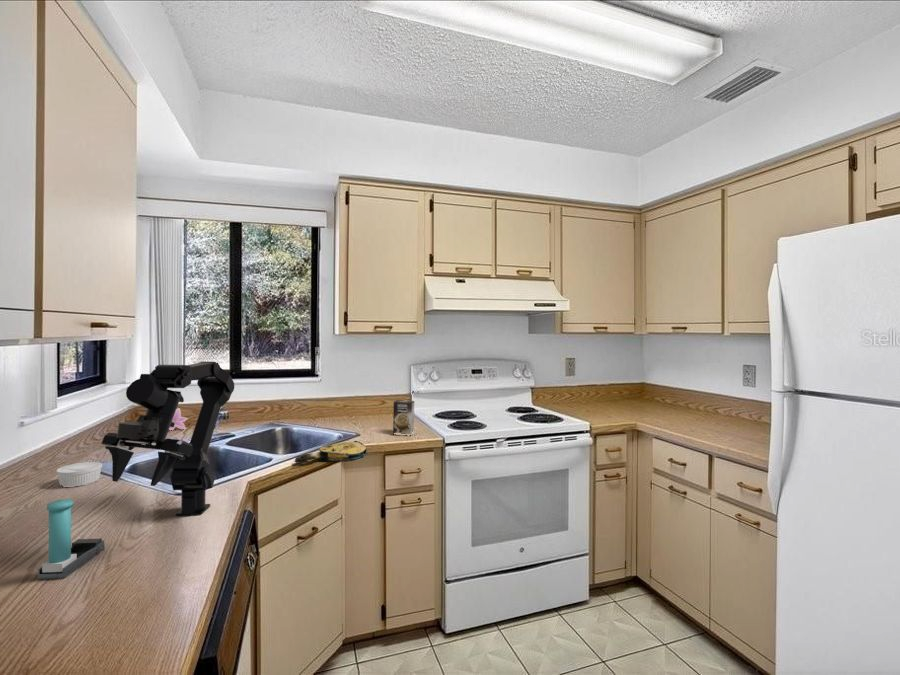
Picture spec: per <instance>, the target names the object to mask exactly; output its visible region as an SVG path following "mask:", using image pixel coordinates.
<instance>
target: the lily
mask: <svg viewBox="0 0 900 675" xmlns="http://www.w3.org/2000/svg"><path fill="white" fill-rule="evenodd" d="M181 411H182V410H181V408H179V407H177V409H176V411H175V414H174V417H173V420H172V422H173V423H175V425H174V427H170V428H169V430H172V431H174V430H175V429H176V428H178V429H180V430H183V429H186V430H187V428H186V425H185V423H184V422H186V421H187V420H188V419H189V418H188V417H184V416H182V412H181ZM169 430H168V431H169Z"/></svg>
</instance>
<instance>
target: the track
mask: <svg viewBox="0 0 900 675" xmlns="http://www.w3.org/2000/svg"><path fill="white" fill-rule="evenodd" d="M104 550H105V540H103V538H78V539H77V540H74V541H73V542H71V554H77V559H76V560H74V561H73V562H71V563H70V564H68V565H67V566H66V567H64V568H63V572H43V573H42V566H40V567H39V568H37V580H57V579H58V580H59V579H61V580H62V579H66V578H67V577H69V576H70V575H72V574H73V573H74V572H75V571H77V570H78V569H80V568H82V566H84V565H85V564H86V563H88V562H89V561H90V560H92V559H94V557H96V556H97V555H99V554H100V553H101V552H103V551H104Z"/></svg>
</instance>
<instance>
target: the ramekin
mask: <svg viewBox="0 0 900 675" xmlns="http://www.w3.org/2000/svg"><path fill="white" fill-rule="evenodd" d="M102 468H103V463H102V462H99V461H98V462H97V461H86V462H77V463H72V464H71V463H70V464H67V465H63V466H61V467H59V468H57V469H56V472H55V473H56V475H57V478H58V479H57V480H58V483H59V485H60V486H61V485H62V486H77V485H83V484H87V483H91V482H94V481H97V482H98V481H99V479H100V476H101V471H102ZM62 486H61V487H62Z"/></svg>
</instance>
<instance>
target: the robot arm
mask: <svg viewBox="0 0 900 675" xmlns="http://www.w3.org/2000/svg"><path fill="white" fill-rule="evenodd" d="M194 380H197V382H196V384H197V386H198V388H199V389H200V390H199V393H200V394H199V395H200V397H201V400H202V405H201V408H200V411H199V412H198V413H199V414H198V417H197V420H196V423H195V426H194V428H193V431H192V435H191V438H190V440H189V441H188V442H187V441H184V440H182V439H175V438H167V435H168V432H169V428H170V427H174V425H175V423H173V422H172V420H173V417H174V414H175V411H176V409H178V405H179V403H184V401H185V400H184V397H183V395H182V392H181V391H180V390H172V389H185V388H186V387H188V386H190V385H191V384H192V381H194ZM234 391H235V382H234V380H233V378H232V376H231V374H230V373H229V372H227V371H226V370H224V369H223V368H222V367H221V366H220V363H219V362H216V361H199V362H197V363H196V362H195V363H192V364H157V365H156V366H155V367H154V369H153V370H152V371H150V373H141V374H140V375H139V378H137V379H135V380H134V381H132V382H131V383H130V384H129V386H127V388H126V391H125V394H126V398H127V400H128V401H129V402H132V403H134V405H135V404H136V405H137V406H140V407H142V408H143V409H146V412H145V413H144V414H143V415H142V414H140V416H138V418H137V420H135V421H125V422H119V423H118V427H117V433H116V432H108V433H106V434H105V435H104V436H103V438H102V441H101V443H100V444H101V445H103V446H104V449H105V450H108V451H109V453H110V455H111V458H112V460H111V462H112V466H111V467H112V474H111V476H112V480H111V481H112V482H118V481H119V480H120V478H121V477H122V475H123V473H124V471H125V470H126V468H127V467H128V464H129V462H130V461H131V459H132V457H133V456H134V451H132V450H133V449H138V448H139V449H148V450H149V449H150V450H159V451H157V455H158V460H157V464H156V467H155V470H154V473H153V475H152V478H151V482H150V486H152V487H156V485H157V484H159V483H160V481H161V480H162V479H163V478H164V477H165V476H166V475H167V473H169V471H170V475H169V477H170V482H171V486H172V490H173V491H181V492H180V494H181V496H180V497H181V503H180V504H181V505H180V506H181V508H180V509H179V510H178V511H176V512H175V516H197V515H198V516H200V515H202V514H203V513H204V512H205V511H206V510H208V509H209V508H210V507H211V503H206V495H207V494H206V493H207V492H206V491H207V490H210V489H212V488H213V486H214V484H215V476H214V474H213V473H212V472H211V470H210V461H209V459H208V455H207V453H208V450H209V447H210V444H211V441H212V437H213V434H214V430H215V427H216V425H217V421H218V417H219V414H220V412H221V411H220V410H221V409H222V408H221V407H223V406H224V405H225V404H226V403H227V402H229V401H230V399H231V396H232V394H233V392H234Z"/></svg>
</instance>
